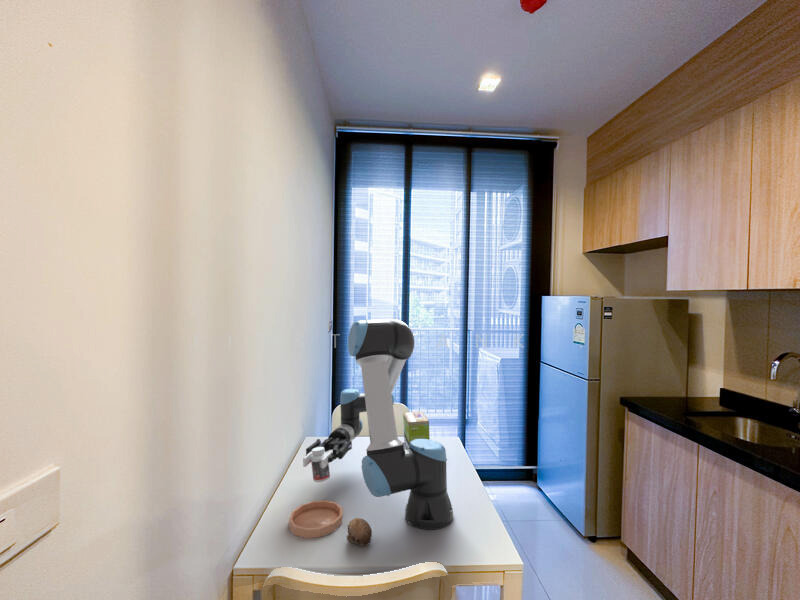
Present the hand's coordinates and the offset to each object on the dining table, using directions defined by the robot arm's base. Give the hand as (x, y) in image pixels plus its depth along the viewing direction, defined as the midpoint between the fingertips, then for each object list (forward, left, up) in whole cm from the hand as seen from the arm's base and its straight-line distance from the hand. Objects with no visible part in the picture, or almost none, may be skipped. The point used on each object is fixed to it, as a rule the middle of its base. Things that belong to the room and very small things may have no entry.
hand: (313, 463), depth 116 cm
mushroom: (-18, -6, -18) cm, 26 cm away
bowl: (-1, 0, -18) cm, 18 cm away
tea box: (+28, -63, -18) cm, 71 cm away
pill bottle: (+2, -4, -7) cm, 8 cm away
